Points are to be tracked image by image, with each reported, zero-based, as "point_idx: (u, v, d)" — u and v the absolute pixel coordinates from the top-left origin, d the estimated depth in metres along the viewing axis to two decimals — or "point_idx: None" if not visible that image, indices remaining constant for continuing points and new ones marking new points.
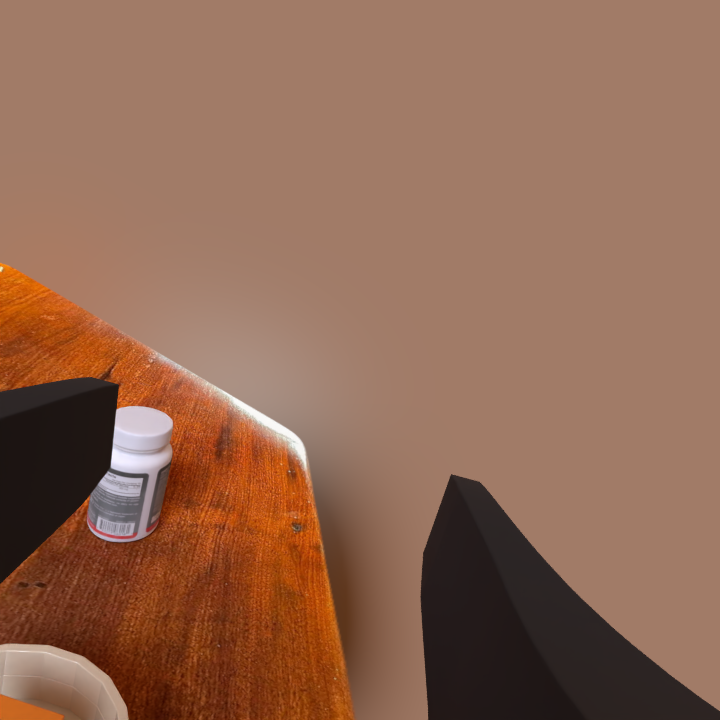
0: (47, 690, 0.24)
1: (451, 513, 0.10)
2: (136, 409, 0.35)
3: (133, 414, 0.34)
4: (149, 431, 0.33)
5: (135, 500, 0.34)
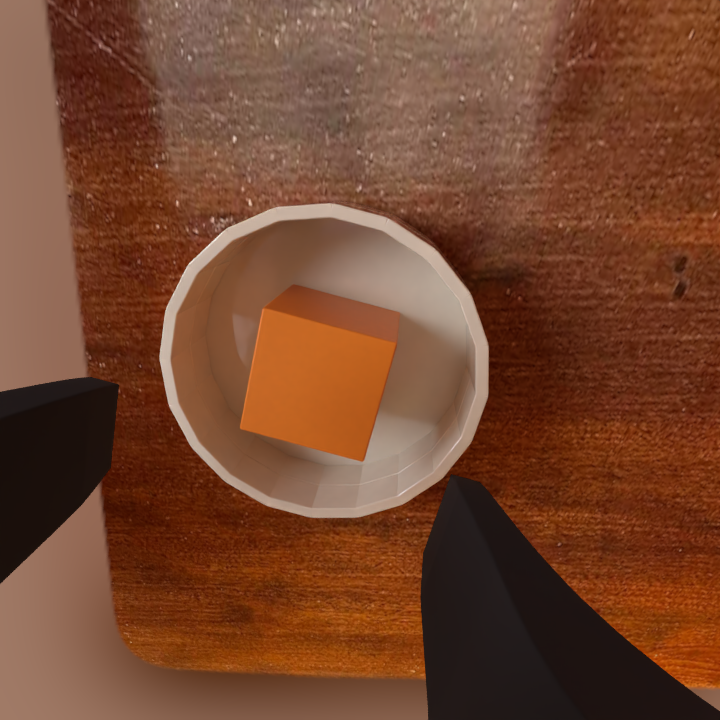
0: (464, 380, 0.18)
1: (451, 513, 0.10)
2: None
3: None
4: None
5: None
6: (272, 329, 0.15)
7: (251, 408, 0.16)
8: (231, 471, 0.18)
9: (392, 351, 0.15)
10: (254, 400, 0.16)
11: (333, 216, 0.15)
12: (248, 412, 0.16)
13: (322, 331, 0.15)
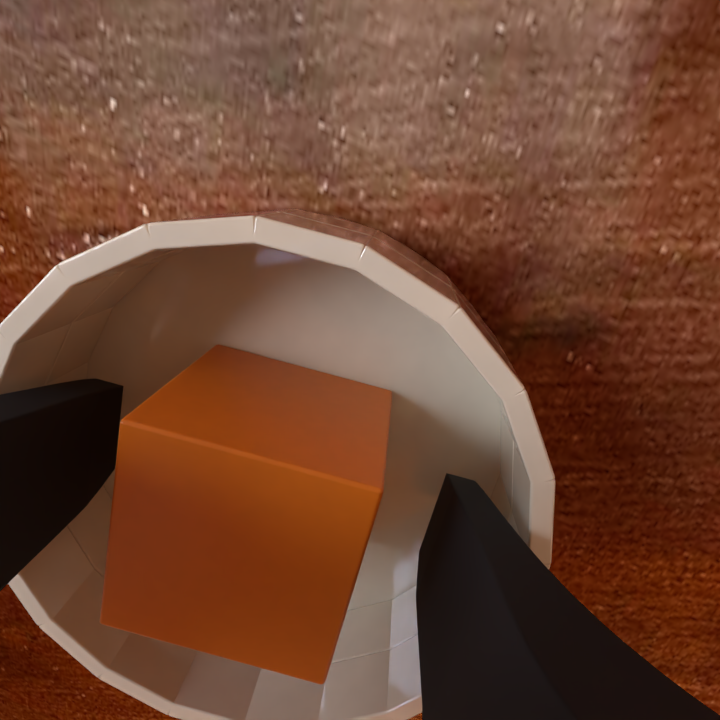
0: (499, 505, 0.11)
1: (446, 511, 0.10)
2: None
3: None
4: None
5: None
6: (141, 458, 0.08)
7: (116, 592, 0.09)
8: (109, 661, 0.11)
9: (374, 505, 0.08)
10: (121, 580, 0.08)
11: (258, 241, 0.08)
12: (112, 597, 0.09)
13: (237, 465, 0.08)
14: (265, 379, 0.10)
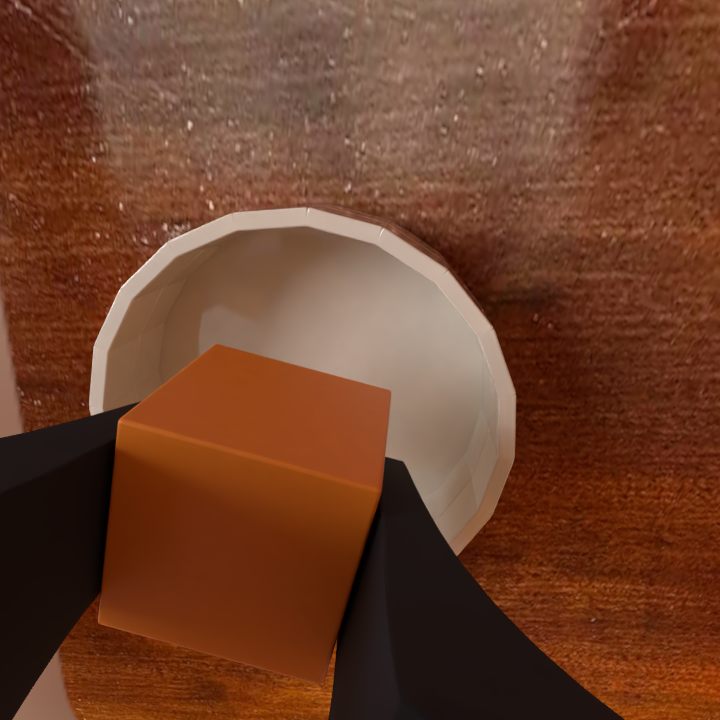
0: (481, 430, 0.14)
1: None
2: None
3: None
4: None
5: None
6: (138, 458, 0.08)
7: (114, 591, 0.09)
8: None
9: (372, 505, 0.07)
10: (119, 579, 0.08)
11: (309, 225, 0.11)
12: (110, 597, 0.09)
13: (236, 464, 0.08)
14: (264, 379, 0.10)
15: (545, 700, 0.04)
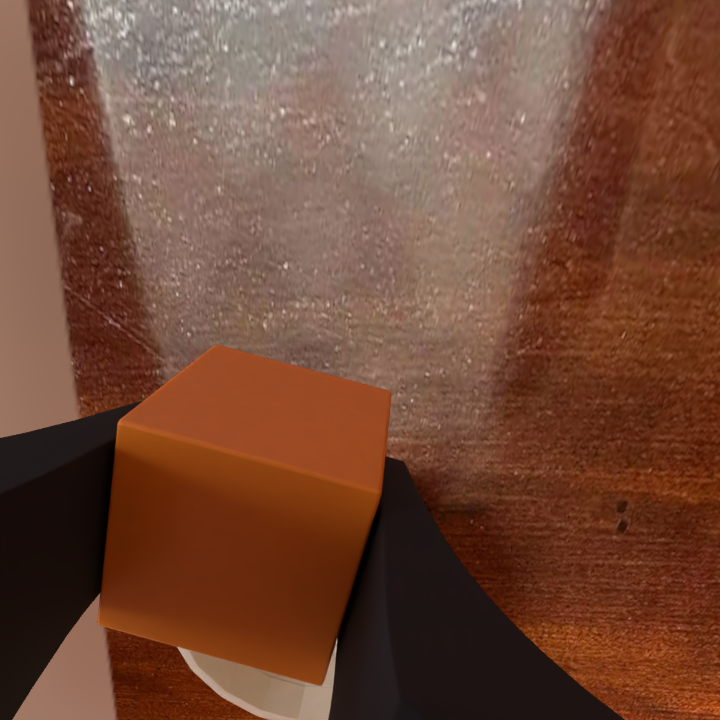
0: None
1: None
2: None
3: None
4: None
5: None
6: (138, 459, 0.08)
7: (114, 593, 0.09)
8: (227, 687, 0.20)
9: (372, 506, 0.07)
10: (119, 581, 0.08)
11: None
12: (109, 599, 0.09)
13: (235, 466, 0.08)
14: (264, 379, 0.10)
15: (545, 700, 0.04)
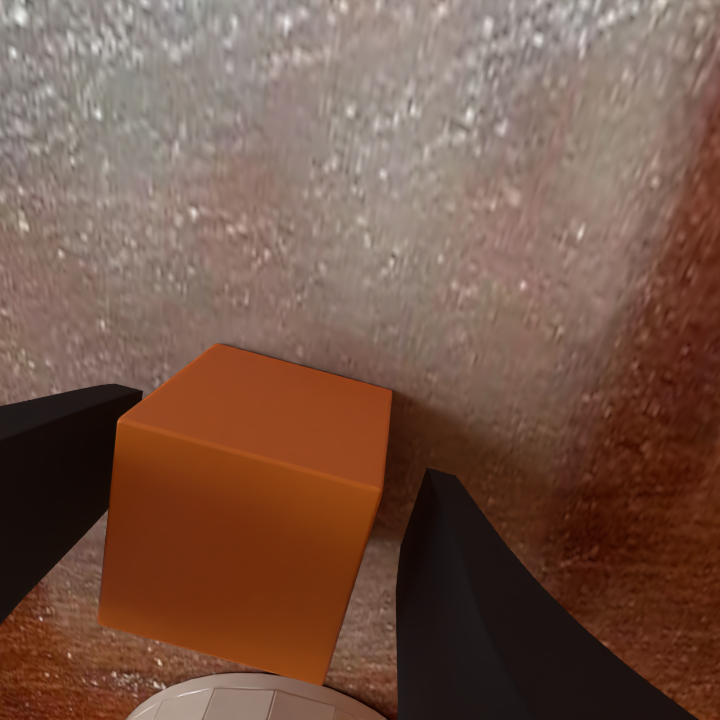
0: None
1: (424, 506, 0.10)
2: None
3: None
4: None
5: None
6: (138, 458, 0.08)
7: (114, 592, 0.08)
8: None
9: (373, 505, 0.07)
10: (118, 580, 0.08)
11: None
12: (109, 598, 0.09)
13: (235, 464, 0.07)
14: (264, 378, 0.10)
15: None
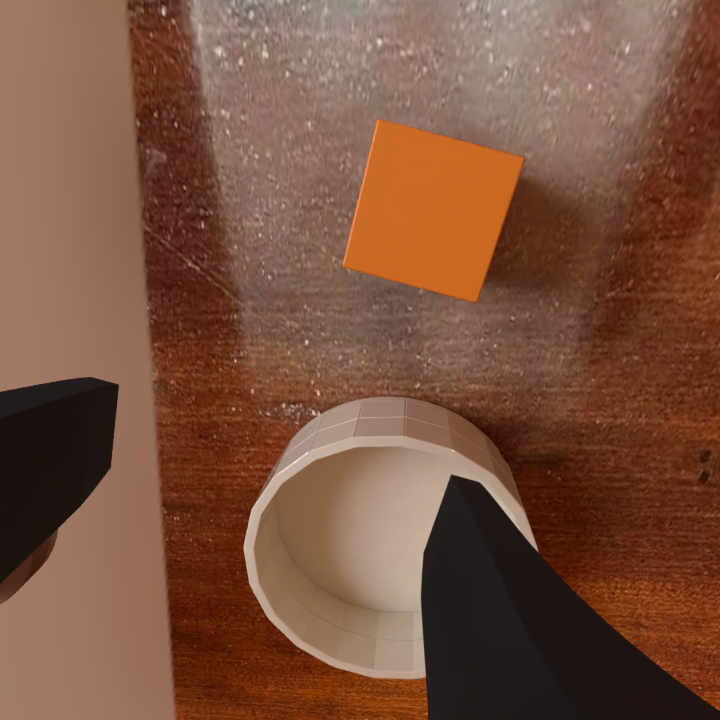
0: None
1: (451, 513, 0.10)
2: None
3: None
4: None
5: None
6: (386, 144, 0.14)
7: (357, 241, 0.14)
8: (302, 636, 0.20)
9: (519, 167, 0.13)
10: (361, 232, 0.14)
11: (405, 446, 0.17)
12: (353, 246, 0.15)
13: (443, 144, 0.13)
14: None
15: None
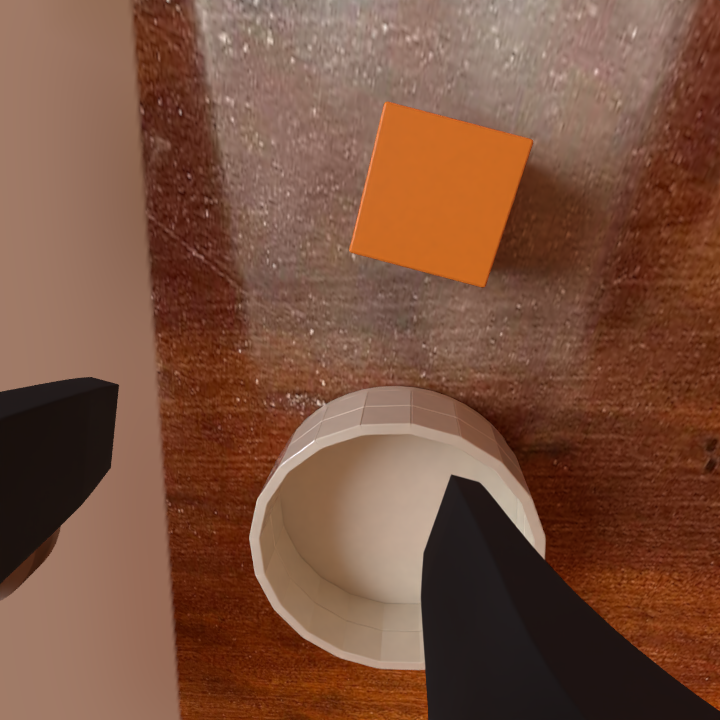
0: None
1: (451, 513, 0.10)
2: None
3: None
4: None
5: None
6: (394, 126, 0.14)
7: (364, 225, 0.14)
8: (308, 628, 0.20)
9: (528, 149, 0.13)
10: (368, 216, 0.14)
11: (412, 433, 0.17)
12: (360, 231, 0.14)
13: (451, 127, 0.13)
14: None
15: None
